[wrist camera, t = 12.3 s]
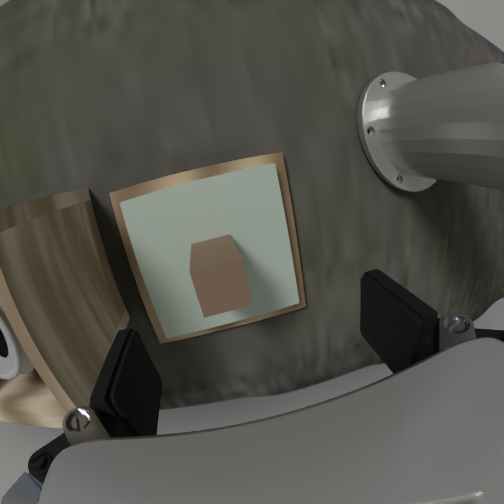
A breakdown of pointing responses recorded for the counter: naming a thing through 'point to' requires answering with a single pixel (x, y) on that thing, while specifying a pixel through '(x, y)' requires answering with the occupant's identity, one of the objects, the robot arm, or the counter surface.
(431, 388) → the robot arm
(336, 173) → the counter surface
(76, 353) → the box
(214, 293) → the lid
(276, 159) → the tray
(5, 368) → the can
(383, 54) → the counter surface
